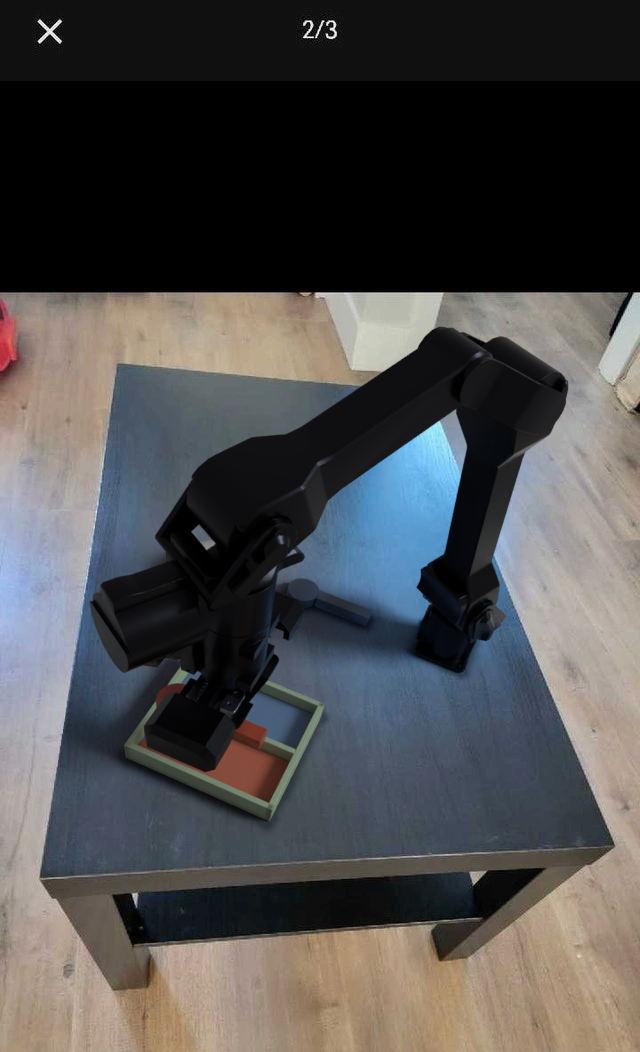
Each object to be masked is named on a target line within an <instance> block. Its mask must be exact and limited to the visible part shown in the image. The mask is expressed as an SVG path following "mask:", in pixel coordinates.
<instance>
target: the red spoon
mask: <svg viewBox="0 0 640 1052" xmlns="http://www.w3.org/2000/svg"><path fill="white" fill-rule="evenodd" d="M185 685H186V684H182V683H174V684H170V685H168V684H167V685H166V686H164V687H162V688H161V689H160V690H159V691H158V693H157V694H156V698H155V701H156V708H157V706H158V705H159V704H160V702H161V701H162V699H163V698H164V697H165V695H167V694H171V693H175V692H176V693H178V694H180V692H181V691H182V689H183V688H184V686H185ZM266 733H267V729H266V728H264V727H261V726H259V725H256V724H254V723H252V722H249V721H247V720H244V722H243V724H242V725H241V727H240V728H239V729H237V730H235V732H234V735H233V738H232V739H233V740H235V741H237V742H240V743H242V744H244V745H247V746H249V747H251V748H254V749H256V750H258V751H259V750H260V748H261V746H262V744H263V742H264V740H265V739H266Z"/></svg>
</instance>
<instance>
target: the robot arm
mask: <svg viewBox="0 0 640 1052" xmlns="http://www.w3.org/2000/svg"><path fill="white" fill-rule="evenodd" d="M568 393H569V381H568V379H566V377H565V375H564V374H563V373H562V372H560V370H557V369H556V368H554V367H553V366H551V365H550V364H548V363H547V362H545V361H544V360H542V359H541V358H540V357H537V356H536V355H534V354H533V353H531V352H530V351H528V350H527V349H525V348H523V347H522V346H521V345H519V344H518V343H516V342H515V341H514V340H511V339H510V338H509V337H507V336H501V335H499V336H496V337H492V338H491V339H490V340H487V341H484V340H481V339H479V338H477V337H476V336H474V335H471V334H469V333H467V332H465V331H461V332H460V331H459V330H457V329H456V328H455V327H447V326H441V325H439V326H437V327H435V328H433V329H431V330H430V331H429V332H428V333H427V334H426V335H424V337H423V338H422V340H421V341H420V343H419V344H418V346H417V348H416V349H414V350H413V351H411V352H410V353H408V354H407V355H406V356H404V357H402V358H400V359H399V360H398V361H396V362H395V363H393V364H391V366H389V367H388V368H386V369H385V370H383V371H382V372H380V373H378V374H377V375H376V376H374V377H373V378H371V379H369V380H368V381H367V382H365V383H363V384H362V385H361V386H359V387H358V388H357V389H355V390H354V391H352V392H351V393H349V394H347V395H346V396H345V397H343V398H342V399H340V400H338V401H336V402H335V403H334V404H333V405H331V406H329V407H328V408H326V409H325V410H323V411H322V412H321V413H319V414H317V415H316V416H315V417H313V418H311V419H309V420H308V422H306V423H304V424H303V425H301V426H300V427H297V428H295V429H293V430H291V431H289V432H287V433H281V434H270V435H260V436H259V435H258V436H252V437H249V438H247V439H245V440H243V441H241V442H238V443H236V444H234V445H233V446H231V447H228V448H226V449H224V450H221V451H220V452H218V453H216V454H214V455H212V456H210V457H209V458H207V459H206V460H205V461H204V462H202V463H201V464H200V465H199V466H198V467H197V468H196V469H195V470H194V472H193V473H192V475H191V480H190V481H189V483H188V484H187V486H186V488H185V489H184V491H183V492H182V494H181V495H180V496H179V498H178V499H177V501H176V503H175V504H174V506H173V507H172V509H171V511H170V512H169V514H168V515H167V516H166V518H165V520H164V521H163V523H162V524H161V526H160V527H159V529H158V530H157V531H156V533H155V535H154V540H156V542H157V543H158V545H159V546H160V547H161V548H162V550H163V551H164V553H165V554H164V555H165V558H164V559H165V562H163V563H161V564H158V565H154V566H151V567H149V568H146V569H143V570H140V571H137V572H134V573H131V574H125V575H120V576H116V577H113V578H111V579H108V580H105V581H102V583H100V590H99V591H96V592H94V593H93V594H92V600H90V601H89V608H90V612H91V617H92V620H93V624H94V627H95V630H96V632H97V634H98V637H99V639H100V641H101V643H102V645H103V647H104V650H105V651H106V653H107V655H108V656H109V658H110V660H111V661H112V663H113V664H114V665H115V667H116V669H118V671H120V672H122V673H124V674H126V673H128V672H131V671H133V670H136V669H138V668H140V667H143V666H145V667H150V668H158V667H159V666H160V665H162V662H163V661H164V660H165V659H170V660H175V661H178V660H180V667H181V670H183V671H185V672H188V673H190V674H193V675H195V674H196V672H197V671H198V672H200V673H201V675H200V676H199V678H198V679H197V680H195V679H193V678H190V679H189V681H188V682H187V683H186V685H185V686H184V688H183V689H182V691H181V692H180V694H178V693H176V692H175V693H171V694H167V695H165V697H164V698H163V699H162V701H161V702H160V704H159V705H158V706H157V708H156V709H155V711H154V712H153V713H152V715H151V716H150V718H149V719H148V721H147V722H146V723H145V725H144V736H145V741H146V745H147V747H149V748H151V749H153V750H155V751H158V752H160V753H162V754H164V755H167V756H169V757H171V758H174V759H176V760H178V761H180V762H183V763H185V764H187V765H189V766H192V767H194V768H196V769H198V770H201V771H203V772H209V771H212V770H215V769H216V767H217V765H218V764H219V762H220V760H221V759H222V757H223V755H224V754H225V752H226V750H227V748H228V747H229V745H230V743H231V740H232V738H233V735H234V732H235V730H237V729H239V728H240V727H241V725H242V724H243V722H244V720H245V719H246V717H247V715H248V714H249V712H250V710H251V708H252V707H253V704H252V703H250V701H251V700H252V698H253V697H254V696H255V695H256V694H257V693H258V691H259V690H260V689H261V688H262V687H263V686H264V684H265V683H266V682H267V681H270V680H269V679H270V678H271V676H272V675H273V673H274V671H275V669H276V668H277V666H278V664H279V662H280V658H279V656H278V655H277V654H275V649H276V645H275V644H272V643H271V641H272V636H271V635H272V633H273V632H274V630H275V629H276V630H279V631H281V632H283V634H282V639H283V640H285V641H288V642H290V641H292V640H293V638H294V636H295V634H296V633H297V631H298V629H299V627H300V626H301V624H302V622H303V618H304V617H303V616H304V611H305V608H303V607H302V606H301V605H300V603H299V602H298V601H297V599H296V598H293V597H291V596H288V595H287V593H286V594H285V593H283V592H281V591H278V590H277V584H278V583H277V582H278V578H279V577H278V576H279V573H280V572H281V571H282V570H284V569H287V568H289V567H292V566H295V565H297V564H300V563H302V562H304V561H305V558H306V555H305V554H304V552H303V551H302V550H301V549H300V547H298V546H299V545H300V544H302V542H303V541H305V540H306V539H307V538H308V537H310V535H312V534H313V533H314V532H315V531H316V529H317V528H318V525H319V523H320V520H321V519H322V515H323V512H324V511H325V509H326V506H327V504H328V502H329V501H330V500H331V499H332V498H333V497H335V495H337V494H338V493H339V492H340V491H341V490H342V489H344V488H346V487H347V486H349V485H350V484H351V483H353V482H355V481H356V480H357V479H358V478H360V477H362V475H364V474H365V473H367V472H368V471H370V470H372V469H373V468H375V466H377V465H378V464H380V463H381V462H382V461H384V460H385V459H387V458H388V457H390V456H391V455H393V454H394V453H396V452H398V451H399V450H400V449H401V448H403V447H404V446H406V445H408V443H410V442H411V441H413V440H415V438H417V437H419V436H420V435H422V434H423V433H424V432H426V431H427V430H429V429H430V428H431V427H433V426H434V425H436V424H437V423H439V422H441V421H442V420H443V419H444V418H446V417H447V416H449V415H450V414H452V413H454V411H455V415H456V419H457V421H458V424H459V426H460V429H461V433H462V435H463V438H464V441H465V444H466V448H465V454H464V457H463V458H464V459H463V464H462V468H461V473H460V477H459V483H458V486H457V490H456V496H455V501H454V505H453V511H452V515H451V518H450V524H449V529H448V533H447V538H446V543H445V547H444V552H443V553H442V554H441V555H439V556H438V557H436V558H434V559H433V560H431V561H430V562H427V565H425V566H423V567H422V568H420V577H419V581H418V583H417V585H416V586H415V587H416V589H417V590H418V591H419V593H420V594H421V595H422V598H423V599H424V600H425V601H426V600H427V602H428V603H429V604H428V605H427V608H426V610H425V613H424V615H423V618H422V620H421V622H420V625H419V628H418V631H417V633H416V635H415V640H416V641H417V642H416V645H415V648H414V650H413V653H414V655H416V656H417V657H420V658H423V659H425V660H428V661H431V662H432V663H435V664H438V665H440V666H442V667H446V668H447V669H450V670H453V671H455V672H458V673H464V672H465V670H466V668H467V666H468V662H469V659H470V656H471V654H472V651H473V649H474V647H475V645H476V643H477V641H483V642H487V641H490V639H491V638H492V636H493V634H494V631H497V629H498V628H500V627H501V626H502V623H503V622H504V621H505V619H506V618H507V615H506V614H505V612H503V611H502V609H500V608H499V607H498V606H497V604H498V601H499V594H500V587H501V582H500V579H499V576H498V573H497V571H496V568H495V565H494V562H493V558H494V556H495V552H496V548H497V546H498V542H499V539H500V536H501V532H502V529H503V525H504V523H505V520H506V519H505V518H506V516H507V513H508V510H509V506H510V502H511V499H512V496H513V492H514V490H515V486H516V483H517V479H518V476H519V473H520V469H521V466H522V463H523V459H524V458H525V457H524V456H525V454H526V452H528V451H529V450H531V449H532V448H533V447H535V446H537V444H539V443H541V442H542V441H543V440H545V439H546V438H548V437H549V436H550V435H551V434H552V431H553V429H554V427H555V425H556V423H557V422H558V421H559V420H560V418H561V416H562V415H563V413H564V411H565V408H566V406H567V405H566V404H567V397H568ZM198 526H200V527H201V529H202V530H203V531H204V533H206V535H207V536H208V537H209V538H210V540H213V541H214V543H215V544H214V546H212V547H210V548H209V549H207V550H206V548H205V547H204V546H203V545H202V544H201V543H200V541H201V540H199V539H198V538H197V537H196V535H195V534H194V533H193V531H194V530H195V529H196V528H197V527H198Z"/></svg>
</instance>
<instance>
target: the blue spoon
mask: <svg viewBox="0 0 640 1052" xmlns="http://www.w3.org/2000/svg"><path fill="white" fill-rule="evenodd" d="M287 585H288V586H287V590H286V595H288V596H291V597H293V598H296V599H297V601H298V602H299V603H300V605H301V606H302V607H303V609H309V608H312V607H315V608H317V609H320V610H323V611H325V612H328V613H330V614H333V615H335V616H337V617H341V618H343V619H345V620H348V621H351V622H353V623H356V624H358V625H361V626H363V627H366V626H367V624H368V623H369V621H370V618H371V615H372V609H369V608H367V607H364V606H362V605H359V604H358V603H354V602H352V601H349V600H347V599H344V598H341V597H338V596H336V595H334V594H331V593H329V592H326V591H323V590H320V589H319V586H318V584H317V583H316V582H314V581H312V580H311V579H308V578H302V577H301V578H295V579H293V580H291V581H290V582H289V583H288V584H287Z"/></svg>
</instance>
